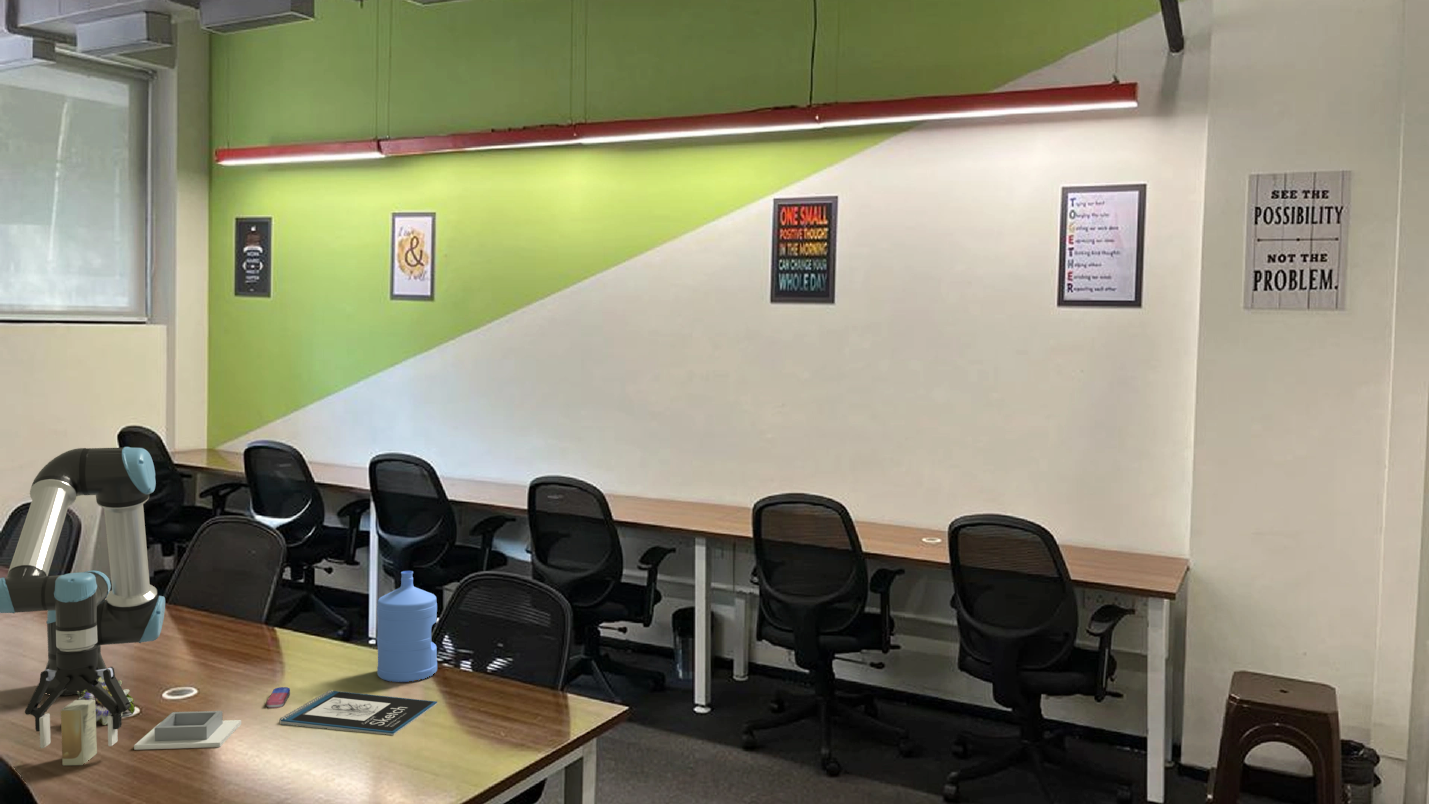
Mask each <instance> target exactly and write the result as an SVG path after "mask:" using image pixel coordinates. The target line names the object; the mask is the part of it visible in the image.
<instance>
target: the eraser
mask: <svg viewBox="0 0 1429 804" xmlns="http://www.w3.org/2000/svg"><path fill="white" fill-rule="evenodd" d="M290 695H291V688H290V687H287V686H285V687H283V686H282V687H281V686H280V687H276V688H274V689H273V691H272V692H271V694H270V696H269V698H268V699H267V700H266V705H265V706H266V708H267V709H279V708H282V707H284V706H285V704H286V703H287V701H288V699H289V697H290Z"/></svg>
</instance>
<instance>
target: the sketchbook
mask: <svg viewBox="0 0 1429 804" xmlns="http://www.w3.org/2000/svg"><path fill="white" fill-rule="evenodd" d="M436 705H438V701H436V700H435V701H434V700H426V699H425V700H424V699H418V698H415V699H414V698H406V697H397V696H387V695H377V694H367V693H359V692H357V693H356V692H351V691H349V692H348V691H339V690H331V689H329V690H327V691H326V692H324V693H321V695H319V696H317V697H315V698H314V699H311V700H309V701H307V702H306V703H304V704H303V705H301V706H299V707H297V708H295V709H294V710H292V711H290V712H288V713H286V714H285V715H283V716H280V718H279V720H278V721H279V724H280V725H284V726H293V725H294V726H295V727H303V726H305V728H314V729H315V728H316V729H324V728H327V729H326V730H335V729H336V731H345V732H356V733H364V734H365V733H367V734H378V735H385V734H386V736H395V735H396V734H397V733H399V732H401V731H402V730H403V729H405V728H406V727H408V726H409V725H410V724H411V722H412V723H413V722H414V721H416V720H417V719H419V718H420V717H421V716H423V715H424V714H425V713H426V711H427V712H429V711H430V710H431V709H433V708H434V707H436ZM422 714H423V715H422ZM419 716H420V717H419ZM418 717H419V718H418ZM415 719H416V720H415ZM296 725H298V726H296ZM294 726H293V727H294ZM398 731H399V732H398Z"/></svg>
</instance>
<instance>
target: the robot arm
mask: <svg viewBox="0 0 1429 804" xmlns="http://www.w3.org/2000/svg"><path fill="white" fill-rule="evenodd" d="M156 484H157V483H156V470H155V465H154V462H153V459H152V456H151V454H150V452H149V451H148V450H147V449H145V448H144V447H130V446H124V447H92V448H88V447H87V448H86V447H80V448H79V447H78V448H73V449H70V450H67V451H64V452H62V453H61V454H59V455H57V456H55V457H54V458H53V459H51V460H50V461H49V462H47V464H45V465H44V466H43V467H42V468H41V469H40V470H39V472H38V473H37V475H36V476H35V478H34V479H33V482H32V484H31V487H30V490H29V496H30V498H31V502H30V505H29V509H28V512H27V514H26V518H25V521H24V524H23V527H22V529H21V532H20V535H19V539H18V541H17V545H16V548H15V550H14V551H15V552H14V554H13V557H12V560H11V562H10V565H9V569H8V572H7V575H6V577H0V614H16V613H17V614H18V613H28V612H29V613H31V612H44V611H45V612H46V611H47V613H46V615H47V617H46V618H47V619H46V622H45V623H46V628H47V631H46V633H47V654H48V655H47V657H48V659H47V663H46V666H45V669H44V670H43V671H41V673H40V676H39V682H38V684H37V686H36V688H35V690H34V692H33V694H32V696H31V698H30V699H29V702H28V704H27V706H26V708H25V710H24V714H25V715H27V716H28V715H29V716H33V717H34V719H35V720H34V722H35V723H34V724H35V728H34V729H35V732H39V748H40V749H45V748H46V747H47V746H49V745H50V744H51V715H50V713H48V712H47V711H48V710H49V709H50V708H51V706H52V705H53V704H54V703H55V702H56V701H57V699H58V698H59V697H61V696H60V695H64V696H72V695H71V694H74V695H78V694H77V691H79V692H80V693H81V692H82V691H84V690H87V691H88V692H89V693H92V694H93V695H94V696H95V697H96V698H97V699H98V700H99V701H100V702H101V703H102V704H103V705H104V707H105V708H106V709H107V710H108V711H109V712H110V713H111V714H110V715H108V723H107V745H108V747H112V746H113V745H115V744H116V743H118V736H119V735H118V733H119V732H118V729H120V728H121V727H122V723H123V721H122V720H123V719H122V717H123V716H121V713H122V714H123V713H125V712H127V711H129V710H128V709H129V708H130V707H131V704H130V702H129V700H128V698H127V697H126V695H125V693H124V691H123V690H124V689H123V688H122V687H121V686H122V685H120V684H119V682H118V681H119V680H118V679H117V678H116V674H115V673H116V672H115V668H114V666H109V667H107V666H106V664H105V660H104V659H103V655H102V653H101V650H102V649H101V648H102V647H101V646H107V645H109V646H110V645H120V644H121V645H123V644H133V643H134V644H137V643H138V644H141V643H148V642H153V641H156V640H157V639H158V638H159V637H160V635H161V633H162V628H163V624H164V619H165V611H166V598H165V596H164V595H163V596H162V595H158V589H157V588H156V587H155V585H154V586H153V585H152V584H150V571H149V561H148V548H147V546H148V545H147V535H146V526H145V525H146V523H145V512H144V511H145V510H144V504H146V502H147V501H149V499H150V494H152V493H154V491H155V489H156ZM79 496H95V499H96V500H95V501H96V504H97V505H98V506H99V507H101V508H102V509H103V511H104V521H105V530H106V531H105V532H106V541H107V549H108V550H107V552H108V561H109V572H110V578H109V577H108V576H107V574H105V573H103V572H102V571H100V570H86V571H82V572H81V571H80V572H71V573H65V574H61V575H49V573H50V570H51V565H52V562H53V559H54V556H55V553H56V549H57V545H58V542H59V540H60V536H61V532H62V530H63V526H64V523H65V520H66V516H67V512H68V510H69V507H70V506H72V505H73V504H74V503H75V501H76V500H77V497H79ZM100 677H101V679H104V682H105V684H106V686H107V688H108V689H109V691H110V693H111V695H112V696H113V697H112V696H111V695H110V694H109V693H108V692H107V691H106V690H105V689H104V688H103V687H102V684H101V683H100V682H99V681H98V679H99V678H100ZM92 685H93V686H92ZM87 691H86V692H87ZM44 693H47V694H50V695H48V697H47V698H46V699H45V700H44V702H43V703H42V704H41V705H40V703H41V701H42V699H43V698H44V695H45V694H44ZM39 705H40V706H39Z"/></svg>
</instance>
